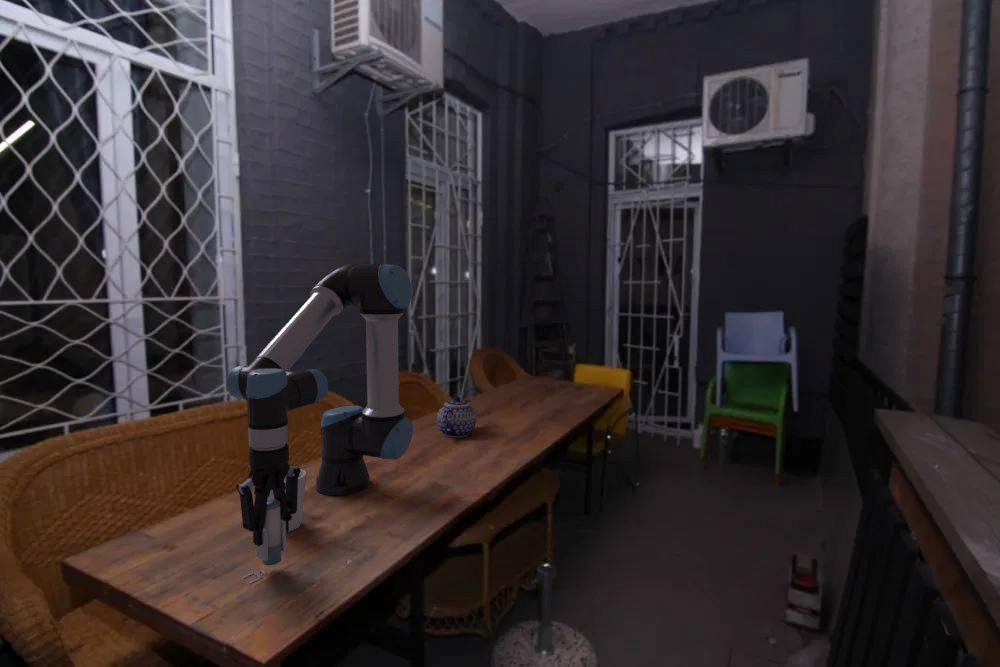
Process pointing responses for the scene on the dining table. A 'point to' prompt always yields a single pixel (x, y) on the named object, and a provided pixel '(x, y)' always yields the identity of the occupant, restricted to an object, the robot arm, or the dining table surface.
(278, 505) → the cylinder
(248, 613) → the dining table surface
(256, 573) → the small grey pieces
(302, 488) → the foam cup
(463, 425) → the blue ceramic jar
